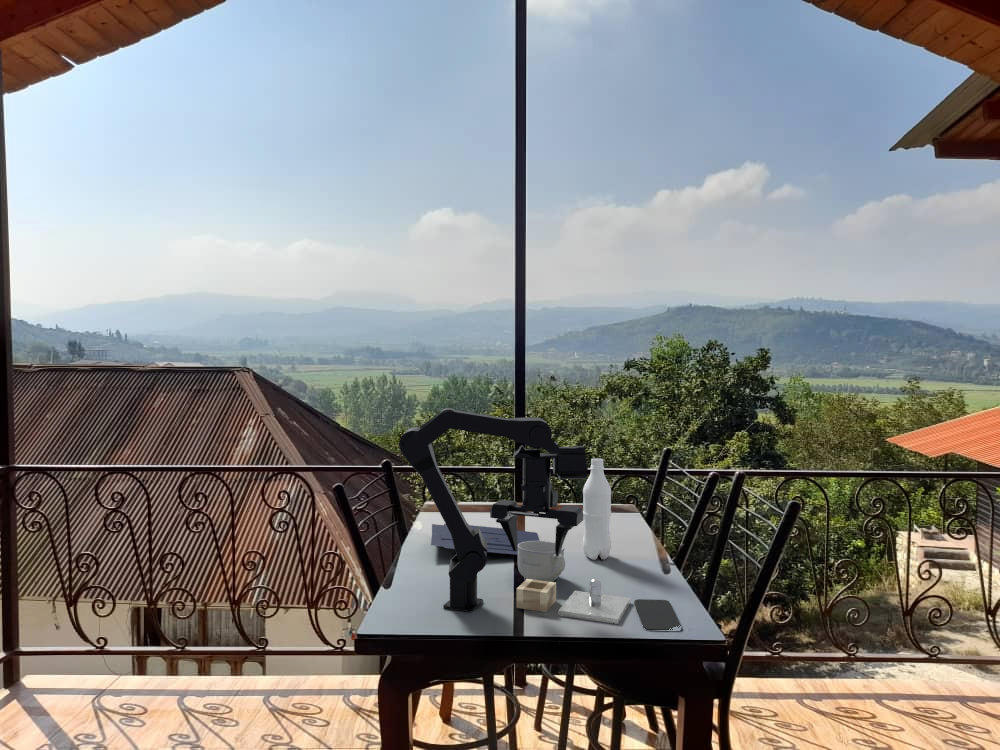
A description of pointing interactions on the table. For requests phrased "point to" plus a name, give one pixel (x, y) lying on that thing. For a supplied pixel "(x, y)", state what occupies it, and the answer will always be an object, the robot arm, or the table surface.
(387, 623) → the table surface
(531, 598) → the collar
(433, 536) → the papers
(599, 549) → the water bottle
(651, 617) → the phone
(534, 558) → the teacup
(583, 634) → the table surface
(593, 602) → the stand
